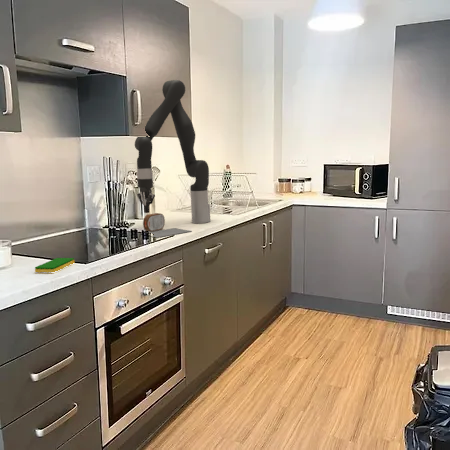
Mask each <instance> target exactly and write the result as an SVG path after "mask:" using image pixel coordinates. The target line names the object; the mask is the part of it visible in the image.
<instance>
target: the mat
mask: <svg viewBox="0 0 450 450" xmlns="http://www.w3.org/2000/svg"><path fill="white" fill-rule="evenodd" d="M150 233H152V234H154V235H153V237H152V238H154V237H156V238H155V239H160V238H165V237H171V236H175V235H176V236H177V235H181V234H188V233H192V230H189V229H182V228H179V227H178V228H177V227H172V228H166V229H161V230H156V231H152V232H150ZM159 237H160V238H159Z"/></svg>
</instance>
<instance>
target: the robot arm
mask: <svg viewBox="0 0 450 450" xmlns="http://www.w3.org/2000/svg"><path fill="white" fill-rule="evenodd" d="M185 93H186V86H185V84H184V82H183V81H182V80H180V79H172V80H167V81H165V82H164V83H163V85H162V95H163V98H164V99H163V101H162V102H161V103H160V105H159V106H158V107H157V108H156V109H155V111H154V112H153V113H152V114H151V115H150V117H149V119H148V120H147V121H146V123H145V125H146V126H144V127H145V131H146V133H147V134H148V135H149V136H150V137H148V136H146V137H138V136H137V137H136V139H135V140H134V148H135V149H136V151H138V157H137V158H136V168H137V169H136V170H137V172H136V177H137V178H136V179H137V188H139V193H136V194H137V195H136V196H137V198H138V201H139V202H140V204H141V205H142V206H143V212H144V213H145V214H148V213H149V214H150V206H151V205H152V204H153V201H154V199H155V197H156V194H155V193H154V194H153V191H152V190H153V189H152V188H154V181H153V179H154V177H153V176H154V175H153V167H152V166H153V164H152V155H153V142H152V141H153V139H154V137H156V136H157V135H158V134H159V132H160V131H161V129H162V127H163V125H164V124H165V121H167V120H166V119H168V117H169V115H171V120H172V122H173V126H174V130H175V133H176V135H177V138H178V142H179V145H180V149H181V152H182V157H183V161H184V166H185V170H186V174H187V175H188V176H189V177H191V178H193V179H194V178H195V181H194V183H193V184H191V185H190V186H189V189H190V207H191V208H190V210H191V223H192V224H206V223H209V222H211V206H210V205H211V204H210V203H209V192H208V186H209V183H210V178H209V177H210V169H209V164H208V163H207V161H205V159H204V160H203V159H201V160H199V159H197V158H196V154H195V152H194V151H195V142H196V131H195V127H194V125H193V122H192V120H191V118H190V116H189V115H188V113H187V112H186V111H185V108H184V107H183V105H182V102H181V99H182V98H183V96H185Z"/></svg>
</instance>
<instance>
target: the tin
mask: <svg viewBox="0 0 450 450" xmlns="http://www.w3.org/2000/svg"><path fill="white" fill-rule="evenodd" d="M165 220H166V219H165V216H164V214H163V213H160V212H159V213H157V212H155V213H149V214H148V213H147V214H146V215H145V216H144V218H143V222H142V226H143V227H142V228H143V230H144V231H146V232H147V231H149V232H154V231H160V230H163V228H165V222H166V221H165Z"/></svg>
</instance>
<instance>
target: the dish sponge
mask: <svg viewBox="0 0 450 450" xmlns="http://www.w3.org/2000/svg"><path fill="white" fill-rule="evenodd" d="M73 263H75V258H74V257H55V258H53V259H50V260H48V261H47V262H44V263H42V264H39V265H38V266H35V267H34V272H55V271H58V270H60V269H62V268H64V267H66V266H68V265H70V264H73ZM73 265H74V264H73ZM70 266H71V265H70ZM68 267H69V266H68ZM66 268H67V267H66ZM64 269H65V268H64ZM62 270H63V269H62ZM60 271H61V270H60ZM58 272H59V271H58Z"/></svg>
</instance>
